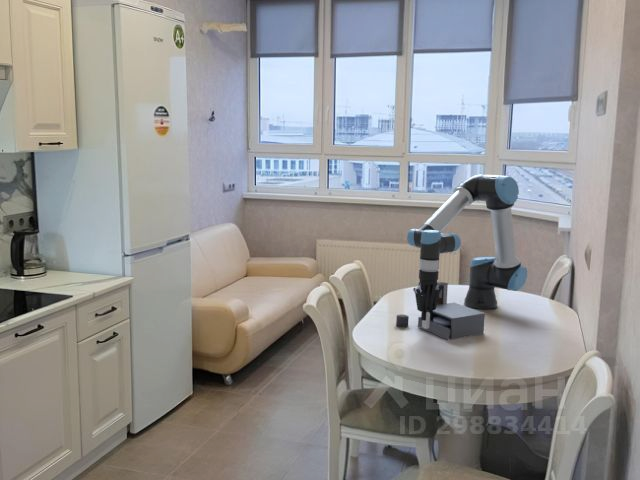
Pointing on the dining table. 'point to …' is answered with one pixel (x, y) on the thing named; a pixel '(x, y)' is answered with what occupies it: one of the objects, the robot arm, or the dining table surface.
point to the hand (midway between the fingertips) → (425, 327)
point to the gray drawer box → (461, 319)
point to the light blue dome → (442, 321)
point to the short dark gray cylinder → (402, 320)
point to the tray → (436, 328)
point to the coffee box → (442, 293)
